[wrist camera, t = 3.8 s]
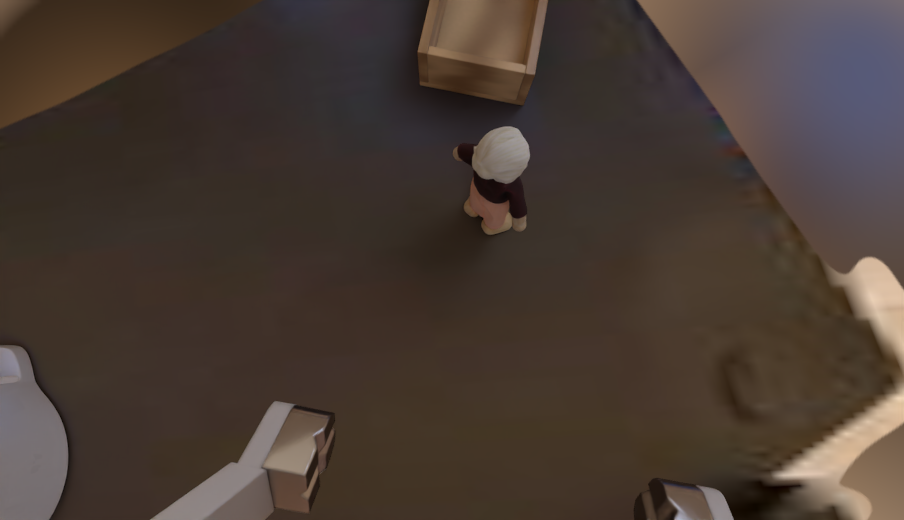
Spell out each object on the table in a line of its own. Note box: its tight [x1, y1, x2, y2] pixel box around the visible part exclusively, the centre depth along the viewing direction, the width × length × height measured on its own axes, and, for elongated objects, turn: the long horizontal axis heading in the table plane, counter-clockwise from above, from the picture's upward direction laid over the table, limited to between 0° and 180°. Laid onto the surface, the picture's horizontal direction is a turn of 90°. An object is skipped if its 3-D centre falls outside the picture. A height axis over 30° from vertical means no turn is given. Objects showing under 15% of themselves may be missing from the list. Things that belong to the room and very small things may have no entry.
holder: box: [418, 0, 548, 106], centre depth 37 cm, size 10×14×5 cm
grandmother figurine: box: [453, 127, 530, 235], centre depth 30 cm, size 8×4×13 cm, turn 51°
